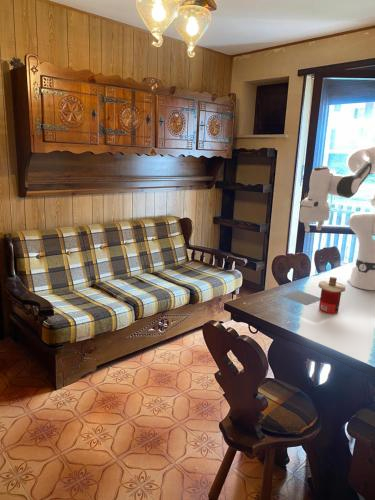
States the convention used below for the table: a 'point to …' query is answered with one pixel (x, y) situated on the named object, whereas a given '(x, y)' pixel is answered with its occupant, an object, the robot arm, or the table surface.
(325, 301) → the canned food
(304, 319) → the table surface
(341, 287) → the lid
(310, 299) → the mat
